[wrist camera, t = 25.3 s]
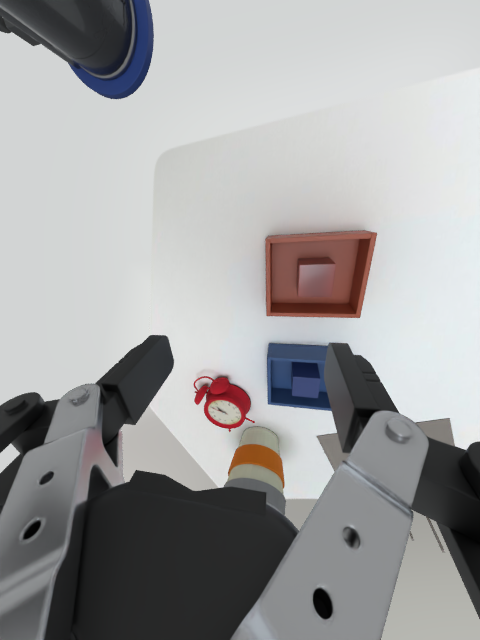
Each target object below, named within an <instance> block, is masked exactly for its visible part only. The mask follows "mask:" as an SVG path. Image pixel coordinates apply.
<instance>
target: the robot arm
mask: <svg viewBox="0 0 480 640" xmlns="http://www.w3.org/2000/svg"><path fill="white" fill-rule="evenodd" d="M2 17H3V18H2ZM0 31H1V32H5V33H11V32H13V33H14V34H16V35H17V36H19V37H21V38H22V39H23V40H25V41H26V42H28V43H29V44H31V45H32V46H35V45H39V44H42V45H44V46H45V47H46V48H48V49H49V50H51V51H52V52H53V53H55V54H56V55H58V56H59V57H61V58H62V59H64V60H65V61H67V62H68V63H69V64H71V65H72V66H74V67H75V68H76V69H80V68H83V69H84V70H85V71H87V72H88V73H89V74H91V75H92V76H94V77H96V78H98V79H101V80H114V79H116V78H118V77H120V76H121V75H122V74H124V73H125V71H126V70H127V69H128V67H129V66H130V64H131V62H132V59H133V56H134V53H135V49H136V43H137V16H136V9H135V5H134V1H133V0H0ZM173 365H174V359H173V355H172V351H171V347H170V344H169V340H168V337H167V336H164V335H150V336H149V337H148V338H147V339H146V340H145V341H144V342H143V343H142V344H140V345H138V346H137V347H135V348H133V349H131V350H130V351H129V352H128V353H127V354H126V355H125V356H124V358H122V359H121V360H120V361H119V363H117V364H115V365H114V367H112V368H111V369H110V370H109V371H108V372H107V373H106V374H105V375H104V376H103V377H102V378H101V379H100V380H98V381H97V382H96V383H95V384H85V385H81V386H79V387H76V388H74V389H72V390H71V391H69V392H68V393H66V394H65V395H64V396H63V397H62V398H61V399H58V400H52V401H46V402H44V400H43V399H42V397H41V396H40V395H39V394H38V393H35V392H33V393H26V394H22V395H19V396H17V397H15V398H13V399H10V400H9V401H7V402H5V403H4V404H2V405H1V406H0V453H1V452H2V451H3V450H4V449H5V448H6V447H7V446H8V445H9V444H10V443H11V444H12V445H13V446H14V447H15V448H16V449H17V450H18V451H19V452H20V455H19V456H18V457H17V458H16V459H14V461H12V463H10V464H9V465H8V466H7V467H6V468H5V469H4V470H3V471H2V472H1V473H0V640H381V637H382V633H383V629H384V626H385V622H386V618H387V615H388V611H389V607H390V603H391V600H392V596H393V592H394V589H395V585H396V581H397V578H398V574H399V570H400V566H401V563H402V559H403V555H404V552H405V548H406V544H407V541H408V536H409V533H410V529H411V526H412V521H413V511H411V509H412V510H414V511H416V512H418V513H420V514H422V515H424V516H426V517H428V518H430V519H432V520H434V521H436V522H437V524H438V526H439V529H440V531H441V533H442V536H443V538H444V540H445V542H446V545H447V547H448V549H449V551H450V554H451V556H452V558H453V560H454V563H455V565H456V567H457V569H458V571H459V574H460V576H461V578H462V581H463V582H464V585H465V587H466V589H467V591H468V594H469V596H470V598H471V600H472V603H473V605H474V607H475V609H476V612H477V614H478V616H479V619H480V442H475V443H472V444H471V445H470V446H469V447H468V449H467V450H464V449H461V448H458V447H455V446H452V445H449V444H446V443H443V442H440V441H438V440H435V439H432V438H430V437H428V436H426V435H425V433H424V431H423V430H422V429H421V428H420V427H419V426H418V425H417V424H416V423H415V422H413V421H412V420H410V419H409V418H407V417H405V416H404V415H401V414H399V412H398V410H397V408H396V407H395V405H394V403H393V401H392V400H391V398H390V396H389V395H388V393H387V391H386V389H385V388H384V386H383V384H382V383H381V382H380V379H379V377H378V376H377V374H376V372H375V370H374V369H373V367H372V365H371V364H370V363H369V362H368V361H367V360H366V359H364V358H363V357H362V356H361V355H353V353H352V351H351V349H350V347H349V345H348V344H347V343H329V344H328V348H327V355H326V361H325V367H324V381H325V386H326V390H327V394H328V398H329V402H330V406H331V410H332V413H333V417H334V421H335V425H336V429H337V433H338V437H339V441H340V445H341V449H342V453H349V456H348V457H347V459H346V460H345V461H344V460H343V461H342V462H341V463H340V464H339V466H338V467H337V469H336V471H335V472H334V474H333V476H332V477H331V479H330V481H329V482H328V484H327V486H326V487H325V489H324V491H323V492H322V494H321V496H320V497H319V499H318V501H317V503H316V504H315V506H314V507H313V509H312V511H311V513H310V514H309V516H308V518H307V519H306V521H305V522H304V524H303V526H302V527H301V529H300V531H299V530H298V529H297V528H296V527H295V526H294V525H293V523H292V522H290V520H288V519H287V518H286V517H285V516H284V515H283V514H282V513H280V512H279V511H278V510H276V509H275V508H273V507H271V506H269V505H268V504H267V493H266V492H261V491H256V490H250V489H244V488H238V487H232V486H231V487H223V488H217V489H209V490H202V491H192V490H190V489H189V488H187V487H185V486H183V485H182V484H180V483H178V482H176V481H174V480H173V479H171V478H169V477H167V476H166V475H162V474H156V473H150V472H144V471H138V470H136V471H135V473H134V474H133V476H132V478H131V480H130V482H126V483H125V481H124V477H123V460H122V459H123V456H122V455H123V453H122V431H121V427H122V426H123V424H131V425H136V423H137V421H138V420H139V419H140V417H141V416H142V414H143V412H144V411H145V410H146V408H147V407H148V405H149V404H150V402H151V401H152V399H153V398H154V396H155V395H156V393H157V392H158V390H159V389H160V387H161V386H162V384H163V383H164V381H165V380H166V379H167V377H168V376H169V374H170V373H171V371H172V369H173Z"/></svg>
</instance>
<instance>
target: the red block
mask: <svg viewBox="0 0 480 640" xmlns="http://www.w3.org/2000/svg"><path fill="white" fill-rule="evenodd" d="M335 268H336V263H335V262H334V261H333V260H332V259H331V258H329V257H328V258H300V259H298V264H297V284H296V288H297V295H298V297H332V291H333V283H334V276H335Z"/></svg>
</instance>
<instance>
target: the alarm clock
mask: <svg viewBox="0 0 480 640" xmlns="http://www.w3.org/2000/svg"><path fill="white" fill-rule="evenodd" d="M201 378H209V379H211V380H212V381H213V382H212V383H211V386H210V387H207V386H202V387H201V388H200V389H199V391H198V389H197V388H196V386H195V382H196V381H197V380H199V379H201ZM197 380H196V381H195V382H194V387H195V389H196V390H197V391H198V392H196V391H195V393H197V394H196V396H195V400H194V401H195V403H196V404H197V405H198V404H199V403H200V402H201V400H202V399H203V397H204V395H205V393H207V395H206V403H205V405H204V413H205V415H206V417H207V418H208V420H209V421H211V422H212V423H213V424H215V425H217V426H219V427H222V428H228V429H229V432H230V431H231V430H230V429H231V428H237V427H239V426H240V425H242V423H243V422H244V420H245V419H247V420H249V421H252V420H250V419H248V418H246V414H247V413H248V411H249V410H250V405H251V403H250V399H249V397H248V395H247V394H246V393H245V392H244V391H243V390H242V389H240V388H239V387H237V386H234V385H231V384H230V383H229V380H228V379H227V378H224V377H221V378H217V379H215V380H213V379H212V378H210V377H207V376H204V377H200V378H198V379H197ZM207 389H209V390H208V392H206V391H207ZM252 422H253V423H255V421H252Z"/></svg>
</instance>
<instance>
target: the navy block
mask: <svg viewBox="0 0 480 640" xmlns="http://www.w3.org/2000/svg"><path fill="white" fill-rule="evenodd" d="M291 385H292V396H299V397H310V398H318V394H319V387H320V374H319V369H318V365H317V363H307V362H292V374H291Z"/></svg>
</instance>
